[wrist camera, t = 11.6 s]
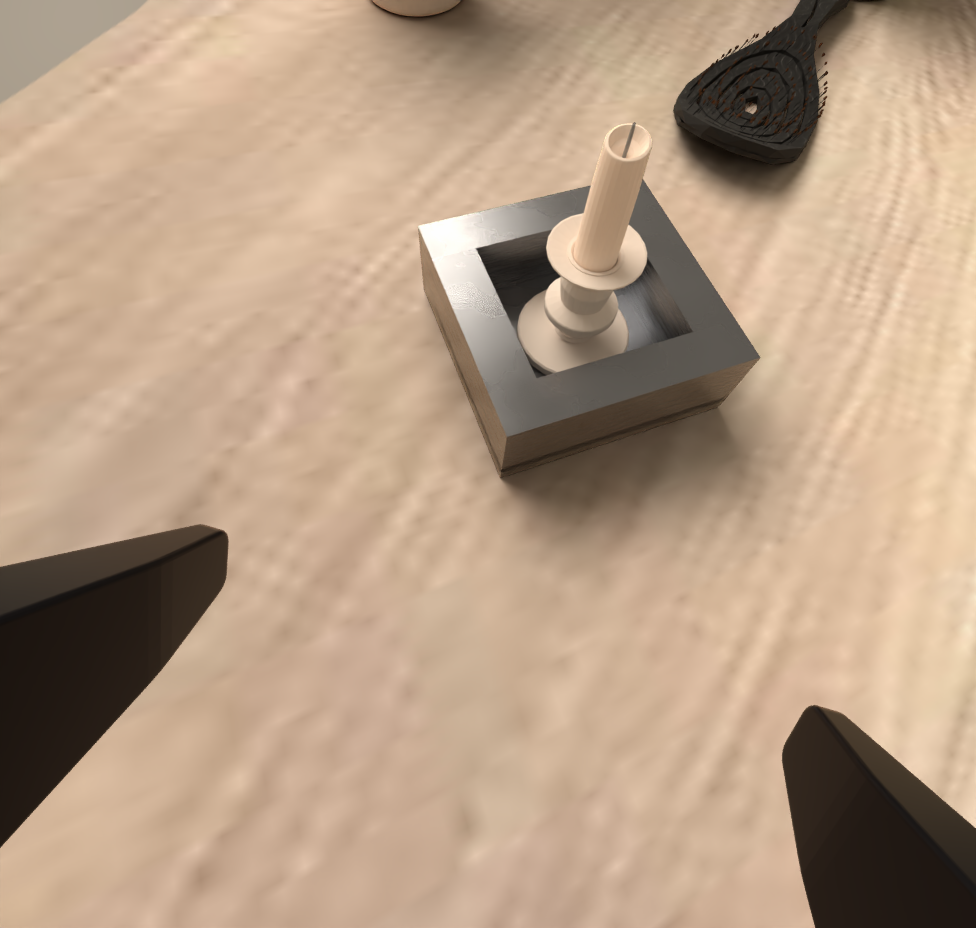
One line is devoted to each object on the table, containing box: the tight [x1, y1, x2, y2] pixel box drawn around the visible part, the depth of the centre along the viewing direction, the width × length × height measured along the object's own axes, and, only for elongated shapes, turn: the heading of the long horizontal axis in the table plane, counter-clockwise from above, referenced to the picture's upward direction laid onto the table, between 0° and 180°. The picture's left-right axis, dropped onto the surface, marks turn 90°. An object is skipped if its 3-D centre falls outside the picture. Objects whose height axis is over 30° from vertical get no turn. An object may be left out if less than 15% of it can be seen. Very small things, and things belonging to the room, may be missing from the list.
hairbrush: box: [673, 0, 849, 164], centre depth 36 cm, size 8×4×25 cm
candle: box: [517, 122, 652, 375], centre depth 21 cm, size 5×5×10 cm
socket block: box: [418, 179, 760, 478], centre depth 25 cm, size 11×11×4 cm
